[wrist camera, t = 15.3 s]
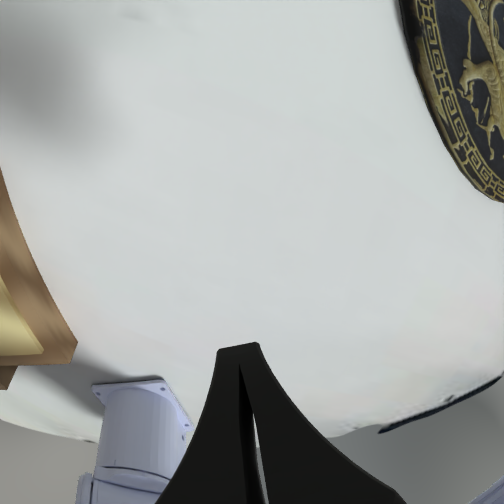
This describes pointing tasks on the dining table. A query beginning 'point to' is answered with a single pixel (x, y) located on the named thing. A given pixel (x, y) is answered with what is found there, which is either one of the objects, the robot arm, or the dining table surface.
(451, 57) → the decorative plate
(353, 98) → the dining table surface
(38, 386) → the dining table surface
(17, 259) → the frame
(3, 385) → the ledge
